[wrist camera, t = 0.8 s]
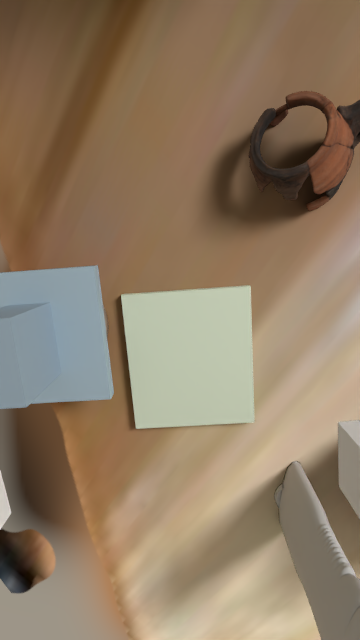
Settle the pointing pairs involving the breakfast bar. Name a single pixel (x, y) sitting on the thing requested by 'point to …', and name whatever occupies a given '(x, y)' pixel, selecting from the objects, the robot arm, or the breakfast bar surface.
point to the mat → (190, 356)
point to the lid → (53, 337)
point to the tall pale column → (318, 558)
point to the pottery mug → (325, 164)
